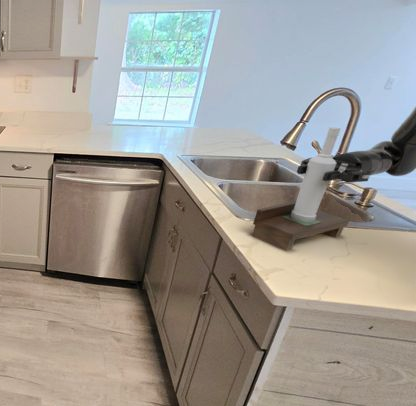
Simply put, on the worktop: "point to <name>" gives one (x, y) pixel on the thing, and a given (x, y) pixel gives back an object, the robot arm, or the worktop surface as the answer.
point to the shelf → (292, 225)
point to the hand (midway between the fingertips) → (312, 173)
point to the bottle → (315, 181)
